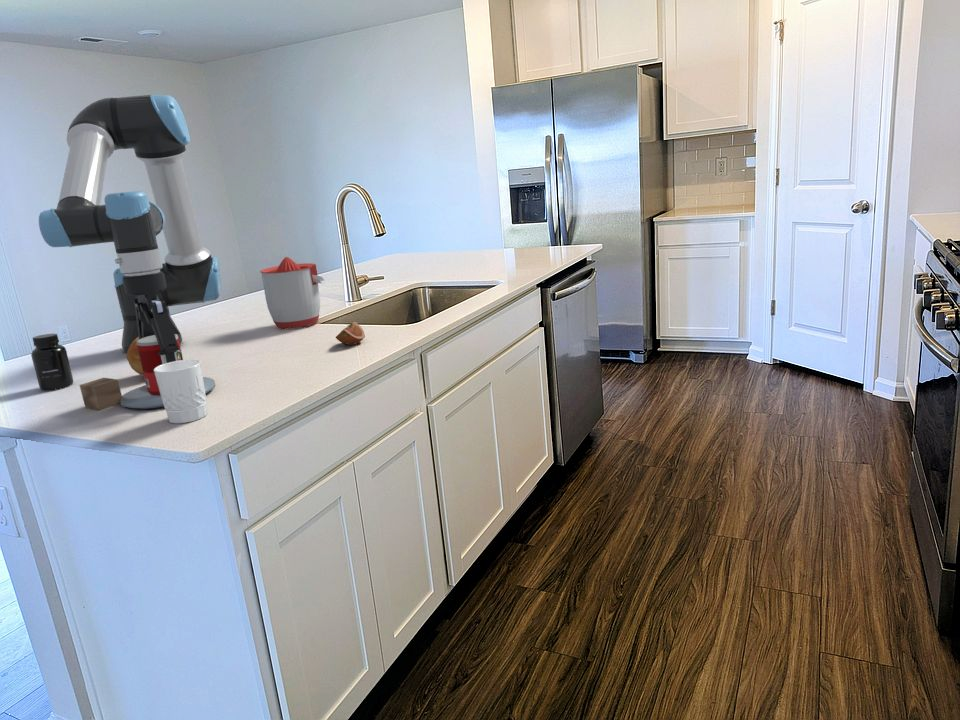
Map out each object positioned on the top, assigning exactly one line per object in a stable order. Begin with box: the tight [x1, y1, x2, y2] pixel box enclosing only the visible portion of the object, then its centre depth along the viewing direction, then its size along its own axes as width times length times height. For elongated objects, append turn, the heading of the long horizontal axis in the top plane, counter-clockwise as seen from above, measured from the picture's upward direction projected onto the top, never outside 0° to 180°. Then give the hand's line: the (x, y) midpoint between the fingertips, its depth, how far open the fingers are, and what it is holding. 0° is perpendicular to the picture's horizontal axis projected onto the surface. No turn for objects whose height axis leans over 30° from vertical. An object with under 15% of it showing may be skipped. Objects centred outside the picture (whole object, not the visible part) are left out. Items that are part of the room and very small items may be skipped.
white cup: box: [154, 358, 208, 424], centre depth 126 cm, size 8×8×10 cm
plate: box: [120, 376, 216, 409], centre depth 142 cm, size 18×18×1 cm
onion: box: [126, 337, 144, 377], centre depth 158 cm, size 10×10×10 cm
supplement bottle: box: [30, 333, 74, 391], centre depth 156 cm, size 7×7×12 cm
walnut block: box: [79, 377, 123, 411], centre depth 139 cm, size 5×5×5 cm
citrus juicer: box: [259, 256, 325, 330], centre depth 199 cm, size 16×17×20 cm
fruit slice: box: [335, 321, 366, 345], centre depth 171 cm, size 8×7×5 cm
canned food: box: [137, 334, 184, 395], centre depth 140 cm, size 8×8×11 cm
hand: (166, 379), depth 141 cm, fingers open, 11 cm apart
